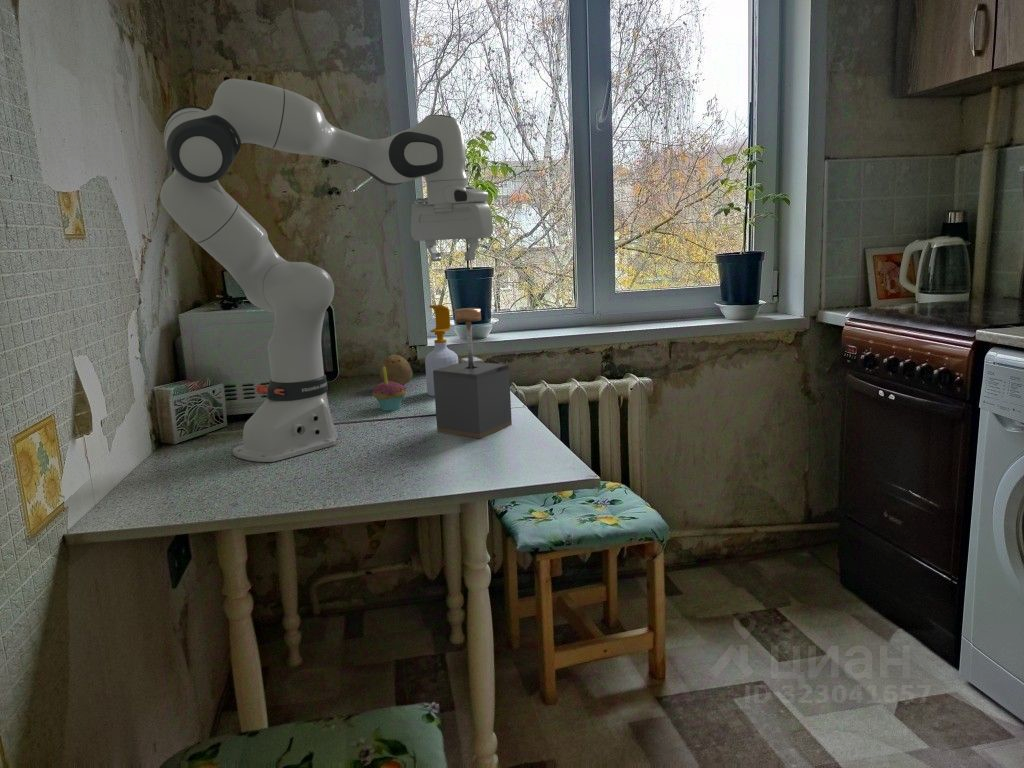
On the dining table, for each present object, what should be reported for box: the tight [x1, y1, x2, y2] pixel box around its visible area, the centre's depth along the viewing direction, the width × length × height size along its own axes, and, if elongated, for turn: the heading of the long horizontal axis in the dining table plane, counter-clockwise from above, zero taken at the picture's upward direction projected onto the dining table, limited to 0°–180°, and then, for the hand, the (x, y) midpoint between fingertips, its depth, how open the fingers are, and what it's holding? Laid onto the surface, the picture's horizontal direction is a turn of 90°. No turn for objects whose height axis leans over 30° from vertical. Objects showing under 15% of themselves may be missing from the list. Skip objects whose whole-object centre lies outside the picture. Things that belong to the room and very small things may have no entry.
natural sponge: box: [379, 354, 414, 387], centre depth 202 cm, size 9×9×10 cm
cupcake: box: [372, 364, 407, 412], centre depth 179 cm, size 9×8×12 cm
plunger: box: [454, 307, 482, 369], centre depth 155 cm, size 10×10×15 cm
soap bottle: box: [424, 304, 459, 398], centre depth 192 cm, size 9×9×25 cm
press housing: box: [433, 361, 513, 439], centre depth 158 cm, size 12×12×14 cm
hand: (452, 260), depth 155 cm, fingers open, 8 cm apart
